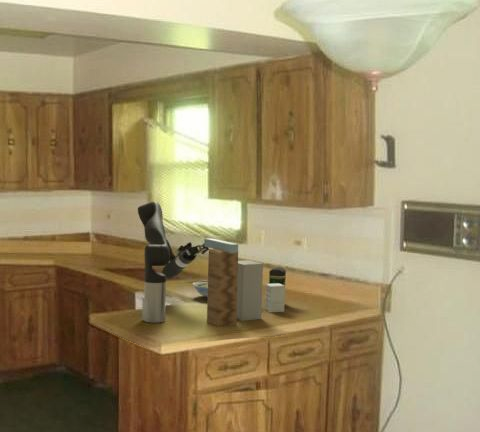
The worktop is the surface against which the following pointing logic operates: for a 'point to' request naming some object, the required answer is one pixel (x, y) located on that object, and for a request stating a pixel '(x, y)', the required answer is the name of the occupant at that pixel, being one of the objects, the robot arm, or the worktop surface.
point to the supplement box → (274, 297)
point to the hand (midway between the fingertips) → (199, 243)
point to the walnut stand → (222, 288)
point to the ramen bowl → (201, 287)
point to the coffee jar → (277, 276)
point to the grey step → (249, 290)
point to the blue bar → (221, 245)
